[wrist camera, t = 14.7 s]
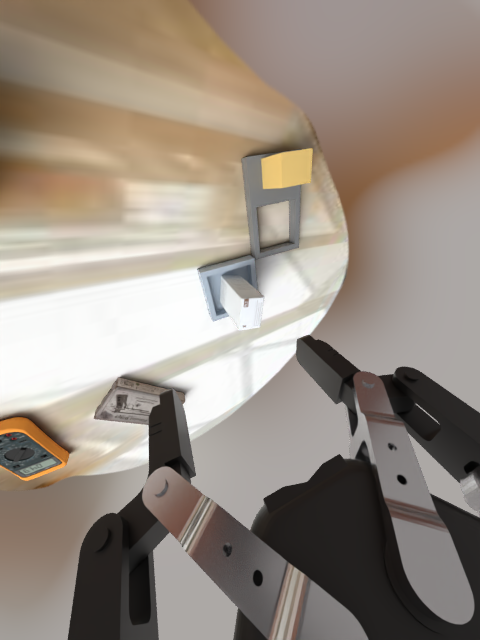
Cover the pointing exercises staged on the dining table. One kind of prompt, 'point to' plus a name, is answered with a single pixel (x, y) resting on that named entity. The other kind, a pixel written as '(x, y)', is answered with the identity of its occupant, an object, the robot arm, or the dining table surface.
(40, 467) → the multimeter
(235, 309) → the skincare box
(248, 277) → the tray
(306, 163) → the block
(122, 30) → the dining table surface
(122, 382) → the box
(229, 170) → the dining table surface
